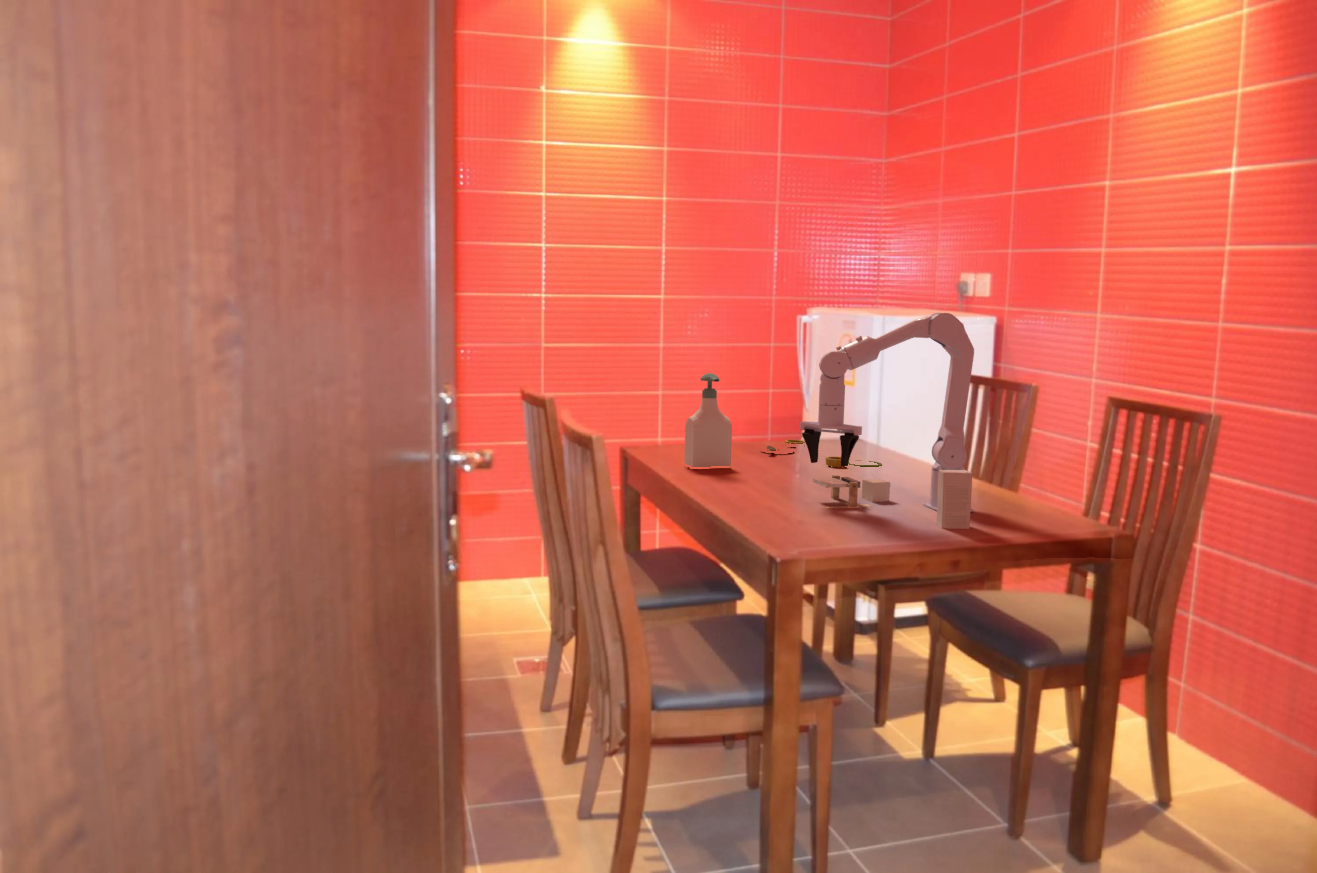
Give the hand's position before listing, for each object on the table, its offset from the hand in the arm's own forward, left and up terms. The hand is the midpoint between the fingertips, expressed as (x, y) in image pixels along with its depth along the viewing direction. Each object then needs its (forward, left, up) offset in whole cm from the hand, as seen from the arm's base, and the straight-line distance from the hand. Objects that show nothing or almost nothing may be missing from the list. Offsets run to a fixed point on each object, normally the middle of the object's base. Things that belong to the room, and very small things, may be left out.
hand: (829, 464), depth 240 cm
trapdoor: (0, -4, -4) cm, 6 cm away
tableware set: (+62, -22, -11) cm, 66 cm away
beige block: (+2, -13, -10) cm, 16 cm away
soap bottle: (+48, +14, -10) cm, 51 cm away
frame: (0, -4, -10) cm, 11 cm away
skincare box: (-26, -17, -10) cm, 33 cm away
